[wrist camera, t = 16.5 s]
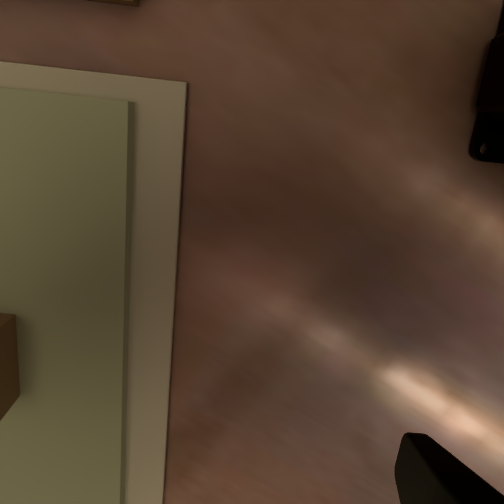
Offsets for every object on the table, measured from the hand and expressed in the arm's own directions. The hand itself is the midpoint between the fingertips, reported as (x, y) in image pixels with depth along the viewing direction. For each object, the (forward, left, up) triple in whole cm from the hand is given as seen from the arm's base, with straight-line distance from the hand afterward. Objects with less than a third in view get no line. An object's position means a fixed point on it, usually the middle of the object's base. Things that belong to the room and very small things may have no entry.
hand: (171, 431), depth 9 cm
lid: (+10, +5, -11) cm, 16 cm away
